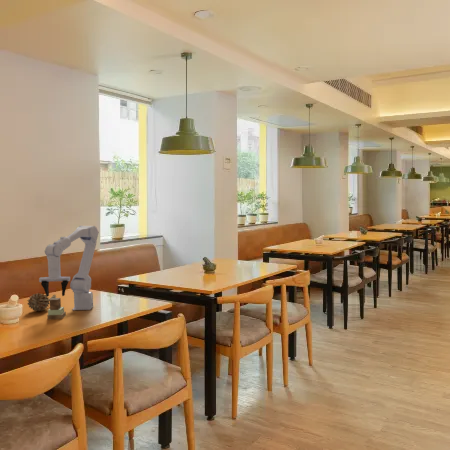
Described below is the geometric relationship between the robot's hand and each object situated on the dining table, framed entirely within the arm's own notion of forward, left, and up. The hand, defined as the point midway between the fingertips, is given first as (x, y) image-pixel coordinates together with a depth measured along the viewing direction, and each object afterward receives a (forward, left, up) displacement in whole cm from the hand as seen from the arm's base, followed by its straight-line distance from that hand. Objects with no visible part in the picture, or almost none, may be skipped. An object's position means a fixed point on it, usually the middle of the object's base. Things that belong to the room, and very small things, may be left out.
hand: (55, 295), depth 240 cm
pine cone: (+11, -15, -11) cm, 22 cm away
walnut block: (-1, +3, -6) cm, 7 cm away
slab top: (-1, +2, -8) cm, 9 cm away
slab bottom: (-1, +2, -11) cm, 11 cm away
